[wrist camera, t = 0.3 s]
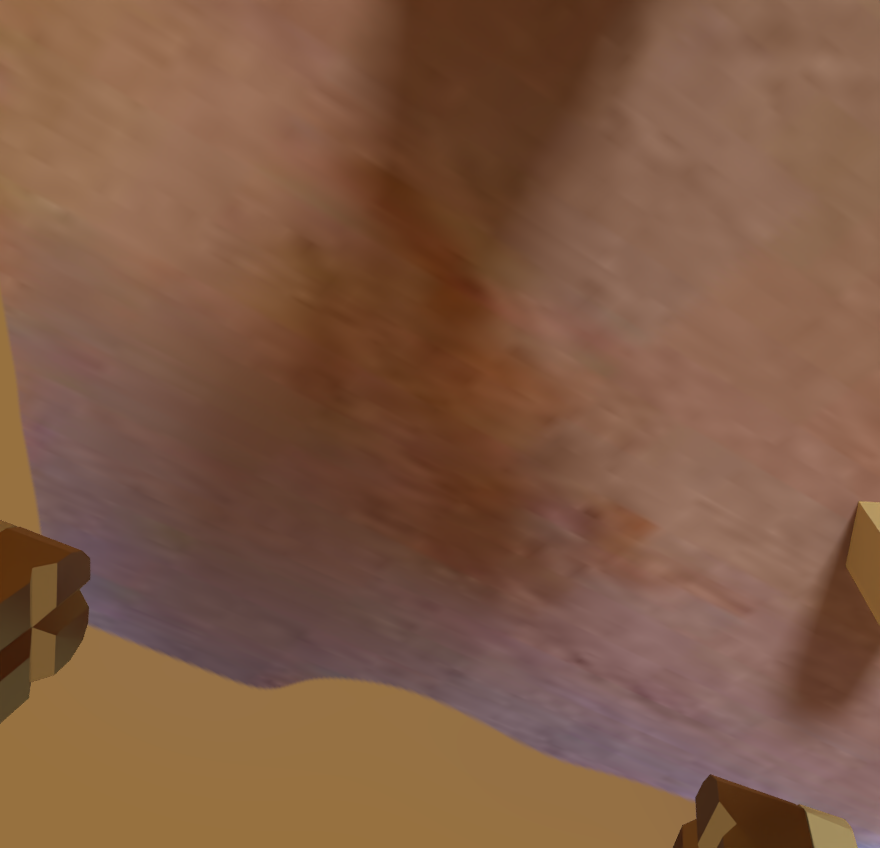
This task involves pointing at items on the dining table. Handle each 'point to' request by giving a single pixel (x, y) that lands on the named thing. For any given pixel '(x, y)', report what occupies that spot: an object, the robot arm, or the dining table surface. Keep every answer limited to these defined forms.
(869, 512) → the shaker
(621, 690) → the dining table surface
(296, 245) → the dining table surface
